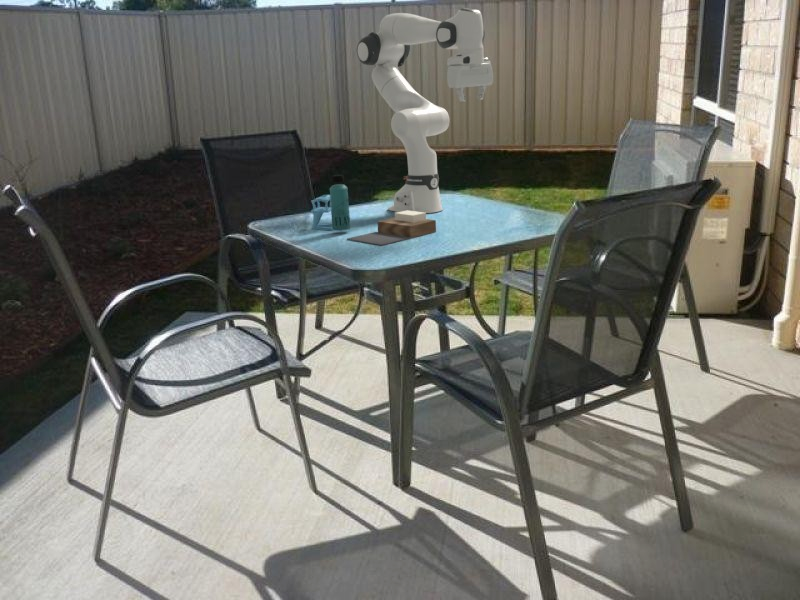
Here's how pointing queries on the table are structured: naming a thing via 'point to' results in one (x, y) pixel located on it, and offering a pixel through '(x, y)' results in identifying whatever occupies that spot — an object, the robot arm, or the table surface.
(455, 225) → the table surface
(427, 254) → the table surface
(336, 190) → the beverage bottle
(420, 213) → the cream tile
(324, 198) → the chair
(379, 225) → the block
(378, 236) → the charcoal mat
